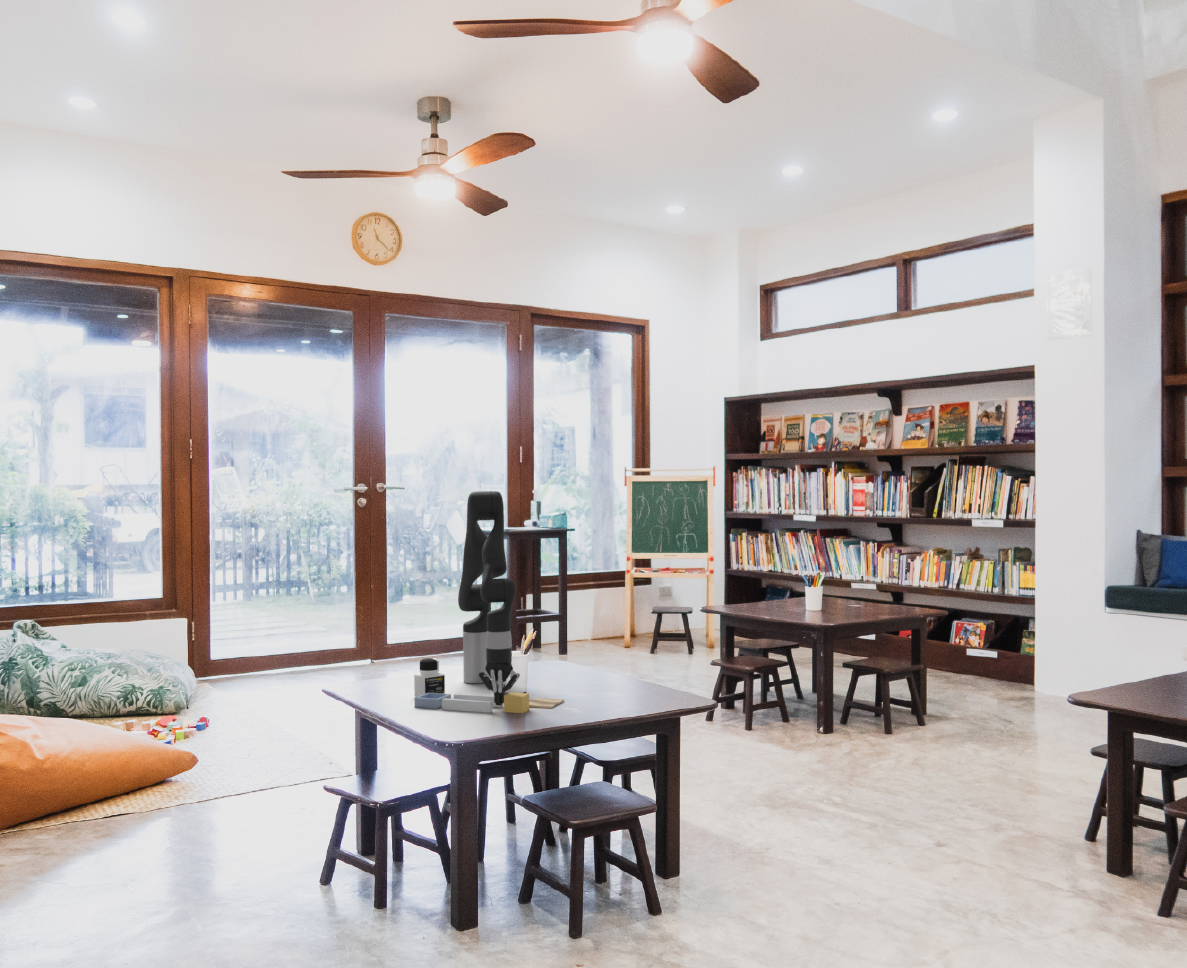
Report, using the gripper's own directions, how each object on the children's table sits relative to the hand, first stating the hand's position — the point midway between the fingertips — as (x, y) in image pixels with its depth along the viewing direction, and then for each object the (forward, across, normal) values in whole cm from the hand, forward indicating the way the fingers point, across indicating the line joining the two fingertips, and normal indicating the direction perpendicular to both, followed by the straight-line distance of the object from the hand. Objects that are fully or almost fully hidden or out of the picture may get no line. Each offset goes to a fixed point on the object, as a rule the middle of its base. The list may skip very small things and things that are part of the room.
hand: (499, 704), depth 277 cm
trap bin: (+2, +22, 0) cm, 22 cm away
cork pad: (+2, -9, -11) cm, 14 cm away
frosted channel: (+2, +9, 0) cm, 9 cm away
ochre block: (+2, -6, 0) cm, 6 cm away
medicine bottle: (+2, +30, -11) cm, 32 cm away
